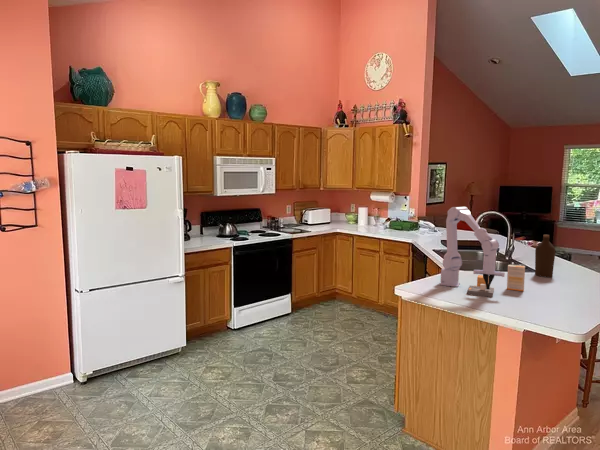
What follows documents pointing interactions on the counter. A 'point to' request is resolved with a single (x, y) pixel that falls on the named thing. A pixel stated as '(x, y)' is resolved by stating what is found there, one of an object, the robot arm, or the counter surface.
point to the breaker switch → (482, 286)
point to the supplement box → (515, 277)
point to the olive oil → (544, 258)
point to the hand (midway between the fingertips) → (487, 288)
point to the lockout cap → (481, 280)
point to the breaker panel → (480, 291)
